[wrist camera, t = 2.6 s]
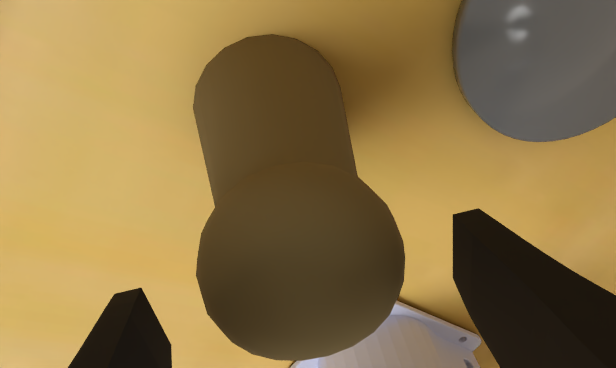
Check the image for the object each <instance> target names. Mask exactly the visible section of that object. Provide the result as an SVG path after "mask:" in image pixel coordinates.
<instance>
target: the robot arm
mask: <svg viewBox="0 0 616 368" xmlns="http://www.w3.org/2000/svg"><path fill="white" fill-rule="evenodd" d="M453 279H454V281H455V284H456V286H457V288H458V291H459V293H460V295H461V298H462V300H463V302H464V304H465V306H466V309H467V311H468V313H469V315H470V317H471V319H472V321H473V322H474V324H475V326H476V328H477V329H478V331H479V333H480V334H481V336H482V338H483V339H484V341H485V343H486V344H487V346H488V348H489V349H490V351H491V353H492V354H493V356H494V358H495V359H496V361H497V363H498V364H499V366H500V368H616V295H614V294H612V293H610V292H608V291H607V290H605V289H603V288H601V287H600V286H598V285H596V284H594V283H593V282H591V281H589V280H587V279H586V278H584V277H582V276H580V275H579V274H577V273H575V272H574V271H572V270H570V269H569V268H567V267H565V266H564V265H562V264H561V263H559V262H558V261H556V260H554V259H553V258H551V257H550V256H548V255H547V254H545V253H544V252H542V251H540V250H539V249H537V248H536V247H534V246H533V245H531V244H530V243H528V242H527V241H525V240H524V239H522V238H521V237H520V236H518V235H517V234H515V233H514V232H512V231H511V230H509V229H508V228H506V227H505V226H504V225H502V224H501V223H499V222H498V221H496V220H495V219H493V218H492V217H490V216H489V215H488V214H486V213H485V212H483V211H482V210H480V209H474V210H470V211H466V212H462V213H457V214H453ZM480 344H481V339H480V337H479V336H478V335H477V334H475V333H472V332H470V331H468V330H465V329H463V328H460V327H458V326H456V325H453V324H451V323H449V322H446V321H444V320H442V319H439V318H437V317H434V316H432V315H430V314H427V313H425V312H423V311H420V310H418V309H416V308H413V307H411V306H408V305H406V304H404V303H401V302H399V301H397V300H396V303H395V305H394V307H393V309H392V311H391V314H390V315H389V316H388V318H387V319H386V320H385V321H384V322H383V323H382V324H381V325H380V326H379V327H378V329H377V330H376V331H375V332H374V333H372V334H371V335H369V336H368V337H366V338H365V339H363V340H362V341H360V342H359V343H357V344H356V345H354V346H353V347H350V348H348V349H345V350H342V351H340V352H337V353H335V354H332V355H330V356H326V357H320V358H315V359H309V360H304V361H296V362H295V363H294V364H293V365H292V366H291V367H290V368H480V366H479V364H478V362H477V360H476V358H475V356H474V354H473V351H474V350H475V349H476V348H477V347H478V346H479V345H480ZM68 368H172V359H171V344H170V342H169V340H168V338H167V336H166V334H165V332H164V330H163V329H162V327H161V325H160V323H159V321H158V319H157V317H156V315H155V313H154V311H153V309H152V307H151V305H150V303H149V302H148V300H147V298H146V296H145V294H144V292H143V290H142V288H138V289H134V290H129V291H125V292H121V293H117V294H114V296H113V297H112V299H111V300H110V302H109V303H108V305H107V306H106V308H105V310H104V311H103V313H102V314H101V316H100V318H99V319H98V321H97V322H96V324H95V326H94V327H93V329H92V331H91V332H90V334H89V335H88V337H87V339H86V340H85V342H84V343H83V345H82V347H81V348H80V350H79V351H78V353H77V355H76V356H75V358H74V359H73V361H72V362H71V364H70V365H69V367H68Z"/></svg>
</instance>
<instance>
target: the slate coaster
mask: <svg viewBox="0 0 616 368" xmlns="http://www.w3.org/2000/svg"><path fill="white" fill-rule="evenodd" d="M452 57H453V68H454V73H455V77H456V81H457V84H458V86H459V89H460V91H461V93H462V95H463V97H464V99H465V100H466V102H467V103H468V105H469V106H470V107H471V108H472V109H473V111H474V112H475V113H476V114H477V115H478V116H479V117H480V118H481V119H482V120H483V121H484V122H486V123H487V124H488V125H489V126H490V127H492V128H493V129H495V130H496V131H498V132H500V133H501V134H504V135H506V136H509V137H511V138H514V139H519V140H523V141H532V142H547V141H556V140H562V139H567V138H570V137H574V136H577V135H581V134H583V133H586V132H588V131H591V130H593V129H595V128H597V127H599V126H601V125H603V124H605V123H607V122H609V121H610V120H612V119H613V118H615V117H616V0H462V1H461V4H460V8H459V11H458V14H457V17H456V22H455V27H454V33H453V44H452Z"/></svg>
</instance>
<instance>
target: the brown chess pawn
mask: <svg viewBox="0 0 616 368" xmlns="http://www.w3.org/2000/svg"><path fill="white" fill-rule="evenodd" d="M193 110H194V114H195V119H196V123H197V128H198V132H199V137H200V141H201V146H202V150H203V155H204V159H205V164H206V168H207V173H208V177H209V181H210V186H211V190H212V195H213V199H214V204H215V209H214V210H213V212H212V214H211V215H210V217H209V219H208V220H207V222H206V225H205V227H204V229H203V231H202V233H201V239H200V245H199V251H198V258H197V271H196V276H197V280H198V284H199V287H200V291H201V294H202V298H203V301H204V304H205V307H206V311H207V314H208V315H209V316H210V318H211V319H212V320H213V321H214V322H215V324H216V325H217V326H218V327H219V328H220V330H221V331H222V332H223V333H224V334H225V335H226V336H227V337H228V338H229V339H230V341H231V342H232V343H234V344H236V345H237V346H239V347H241V348H243V349H244V350H246V351H248V352H250V353H251V354H254V355H258V356H262V357H266V358H270V359H274V360H291V361H304V360H309V359H315V358H320V357H326V356H330V355H332V354H335V353H337V352H340V351H342V350H345V349H348V348H350V347H353V346H354V345H356V344H357V343H359V342H360V341H362V340H363V339H365V338H366V337H368V336H369V335H371V334H372V333H374V332H375V331H376V330H377V329H378V327H379V326H380V325H381V324H382V323H383V322H384V321H385V320H386V319H387V318H388V316H389V315H390V314H391V311H392V309H393V307H394V305H395V303H396V300H397V298H398V296H399V294H400V291H401V288H402V285H403V282H404V268H405V253H404V244H403V240H402V237H401V235H400V232H399V230H398V227H397V225H396V222H395V220H394V218H393V216H392V214H391V212H390V210H389V208H388V206H387V204H386V203H385V202H384V201H383V200H382V199H381V198H380V197H379V196H378V195H377V194H376V193H375V192H374V191H373V190H372V189H371V188H370V187H369V186H368V185H366V184H365V183H364V182H363V181H362V180H361V179H360V178H359V177H358V176H357V171H356V166H355V160H354V155H353V150H352V145H351V140H350V135H349V130H348V125H347V119H346V114H345V109H344V104H343V99H342V94H341V89H340V86H339V83H338V81H337V78H336V76H335V73H334V71H333V68H332V67H331V66H330V65H329V64H328V63H327V61H326V60H325V59H324V58H323V57H322V56H321V55H320V53H319V52H318V51H317V50H315V49H313V48H311V47H309V46H308V45H306V44H304V43H302V42H301V41H299V40H297V39H293V38H288V37H283V36H278V35H272V34H271V35H263V36H255V37H247V38H245V39H243V40H241V41H238V42H236V43H234V44H232V45H230V46H228V47H226V48H224V49H223V50H222V51H221V52H220V53H219V54H218V55H216V56H215V57H214V58H213V59H212V60H211V61H210V62H209V63H208V64H207V65H206V67H205V69H204V71H203V73H202V75H201V77H200V79H199V81H198V83H197V85H196V89H195V96H194V104H193Z"/></svg>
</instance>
